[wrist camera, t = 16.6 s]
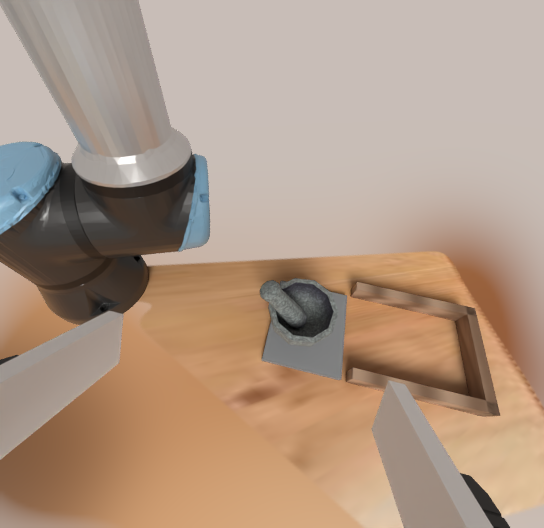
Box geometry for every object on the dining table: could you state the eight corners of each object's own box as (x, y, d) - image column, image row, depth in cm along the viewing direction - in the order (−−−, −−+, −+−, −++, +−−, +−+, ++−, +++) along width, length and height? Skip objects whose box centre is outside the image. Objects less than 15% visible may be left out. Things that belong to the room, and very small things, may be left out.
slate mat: (261, 360, 39) (262, 359, 38) (280, 283, 47) (280, 280, 46) (339, 380, 38) (341, 379, 37) (345, 298, 46) (346, 295, 45)
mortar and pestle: (326, 302, 44) (347, 264, 34) (327, 358, 39) (353, 333, 29) (261, 294, 44) (264, 255, 34) (254, 349, 39) (255, 322, 29)
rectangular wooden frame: (345, 381, 38) (352, 378, 36) (351, 289, 47) (356, 281, 44) (483, 416, 37) (500, 415, 34) (462, 315, 46) (474, 308, 43)
